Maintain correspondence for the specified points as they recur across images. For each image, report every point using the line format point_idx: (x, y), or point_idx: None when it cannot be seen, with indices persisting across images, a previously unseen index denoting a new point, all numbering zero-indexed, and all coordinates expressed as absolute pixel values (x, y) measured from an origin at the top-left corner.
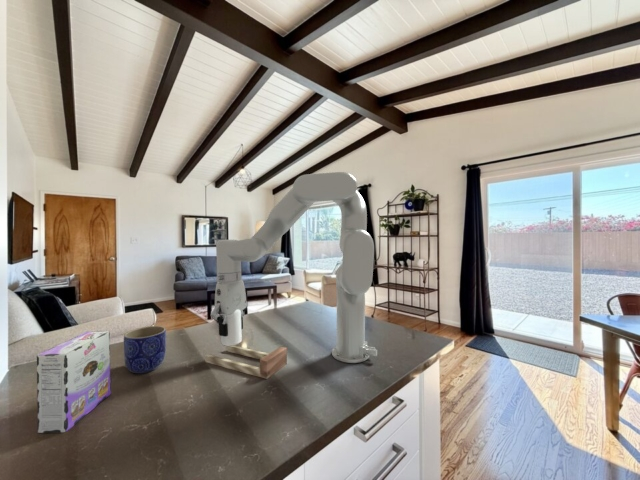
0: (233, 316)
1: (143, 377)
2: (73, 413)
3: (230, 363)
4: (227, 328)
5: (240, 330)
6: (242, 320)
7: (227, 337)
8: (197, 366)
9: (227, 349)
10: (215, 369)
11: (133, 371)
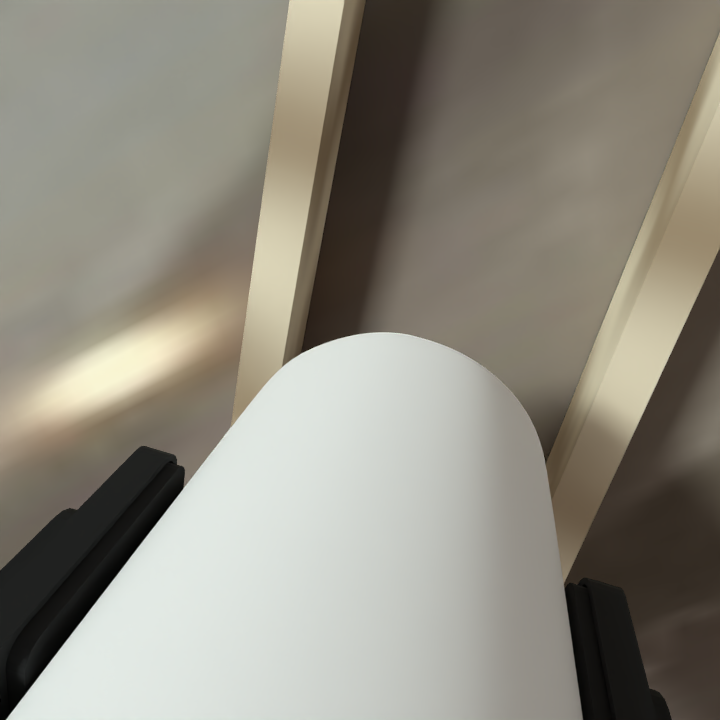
0: None
1: None
2: None
3: (695, 282)
4: (621, 717)
5: (336, 428)
6: (36, 568)
7: (559, 555)
8: (643, 598)
9: None
10: (698, 417)
11: None
